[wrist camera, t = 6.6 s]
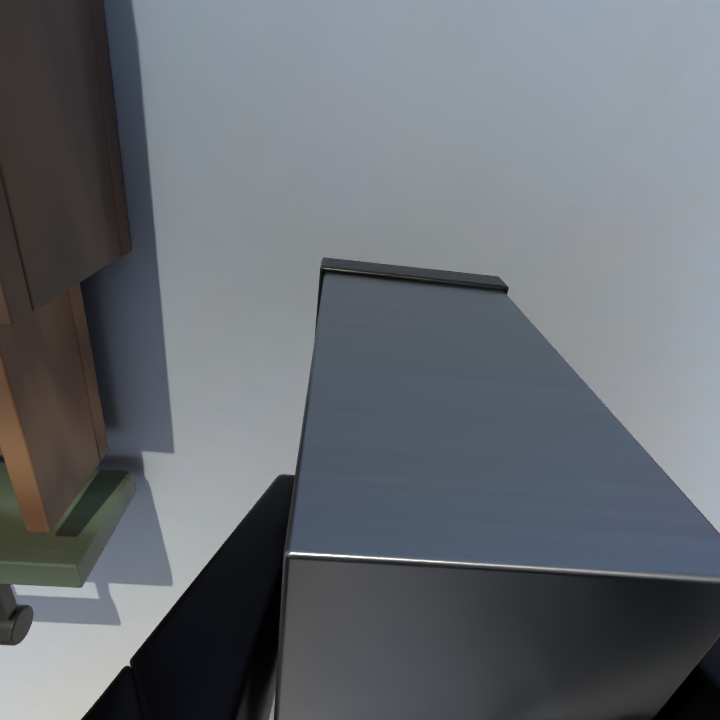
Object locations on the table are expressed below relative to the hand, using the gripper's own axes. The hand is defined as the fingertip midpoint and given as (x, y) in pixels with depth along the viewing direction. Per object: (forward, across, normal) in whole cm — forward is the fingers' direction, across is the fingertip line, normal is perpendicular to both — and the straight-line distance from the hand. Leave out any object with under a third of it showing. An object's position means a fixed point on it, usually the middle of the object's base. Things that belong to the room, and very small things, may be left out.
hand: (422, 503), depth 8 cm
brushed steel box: (+5, 0, 0) cm, 5 cm away
